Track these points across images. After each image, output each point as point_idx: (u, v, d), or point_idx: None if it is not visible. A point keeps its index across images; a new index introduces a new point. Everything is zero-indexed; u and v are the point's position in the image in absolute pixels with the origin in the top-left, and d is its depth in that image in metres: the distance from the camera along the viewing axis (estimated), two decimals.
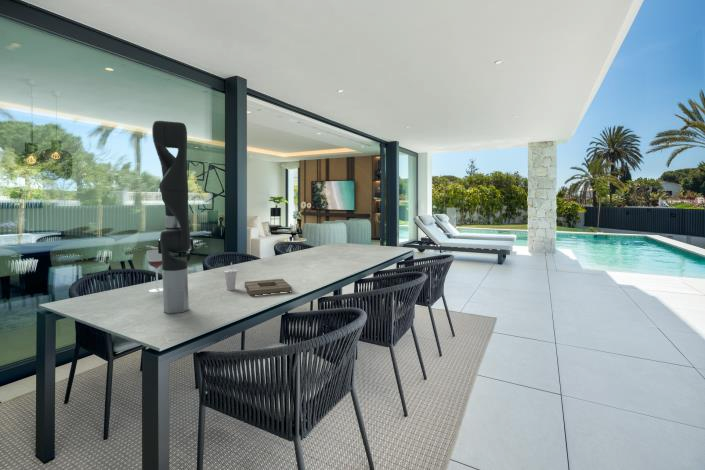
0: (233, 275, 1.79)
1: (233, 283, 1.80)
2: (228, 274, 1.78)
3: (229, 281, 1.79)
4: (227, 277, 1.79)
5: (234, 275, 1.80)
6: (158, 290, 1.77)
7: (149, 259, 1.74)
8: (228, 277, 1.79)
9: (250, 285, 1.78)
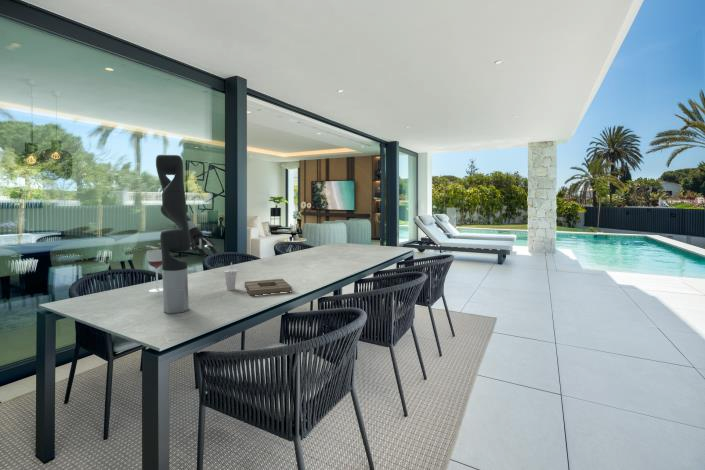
0: (233, 275, 1.79)
1: (233, 283, 1.80)
2: (228, 274, 1.78)
3: (229, 281, 1.79)
4: (227, 277, 1.79)
5: (234, 275, 1.80)
6: (158, 290, 1.77)
7: (149, 259, 1.74)
8: (228, 277, 1.79)
9: (250, 285, 1.78)
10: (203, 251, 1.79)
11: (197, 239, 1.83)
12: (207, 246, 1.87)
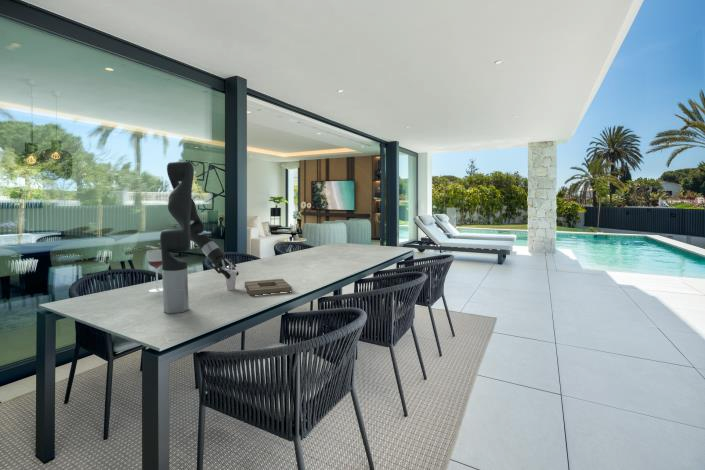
0: (233, 275, 1.79)
1: (233, 283, 1.80)
2: None
3: (229, 281, 1.79)
4: None
5: (234, 275, 1.80)
6: (158, 290, 1.77)
7: (149, 259, 1.74)
8: None
9: (250, 285, 1.78)
10: (227, 273, 1.77)
11: (219, 260, 1.80)
12: (229, 267, 1.84)
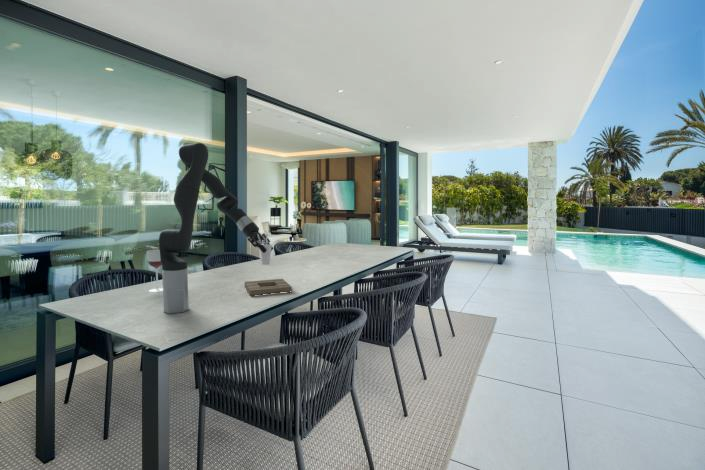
0: (268, 249, 1.78)
1: (268, 257, 1.79)
2: None
3: (264, 255, 1.78)
4: None
5: (269, 249, 1.79)
6: (158, 290, 1.77)
7: (149, 259, 1.74)
8: None
9: (250, 285, 1.78)
10: (263, 247, 1.76)
11: (255, 234, 1.79)
12: (263, 242, 1.83)
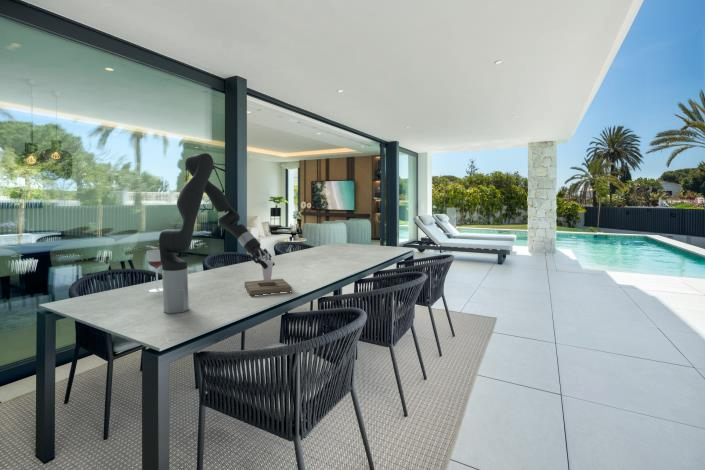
0: (270, 265, 1.79)
1: (270, 273, 1.80)
2: None
3: (266, 271, 1.78)
4: None
5: (271, 265, 1.79)
6: (158, 290, 1.77)
7: (149, 259, 1.74)
8: None
9: (250, 285, 1.78)
10: (265, 263, 1.76)
11: (256, 250, 1.79)
12: (264, 258, 1.83)
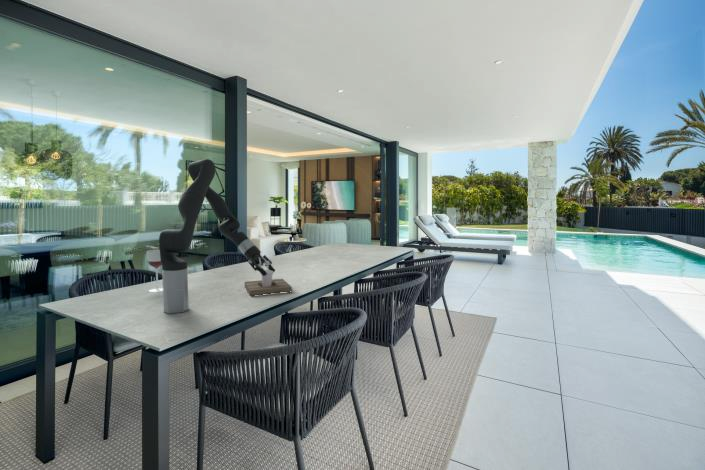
0: (270, 276, 1.79)
1: (269, 284, 1.80)
2: (265, 275, 1.78)
3: (266, 282, 1.79)
4: (264, 278, 1.78)
5: (271, 276, 1.80)
6: (158, 290, 1.77)
7: (149, 259, 1.74)
8: (265, 278, 1.78)
9: (250, 285, 1.78)
10: (264, 270, 1.76)
11: (256, 258, 1.79)
12: (265, 264, 1.84)
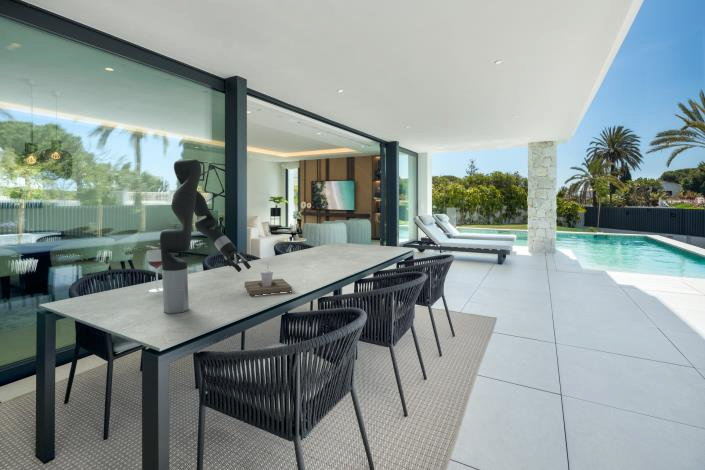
0: (270, 276, 1.79)
1: (269, 284, 1.80)
2: (265, 275, 1.78)
3: (266, 282, 1.79)
4: (264, 278, 1.78)
5: (270, 276, 1.80)
6: (158, 290, 1.77)
7: (149, 259, 1.74)
8: (265, 278, 1.78)
9: (250, 285, 1.78)
10: (238, 266, 1.79)
11: (232, 254, 1.82)
12: (241, 261, 1.87)
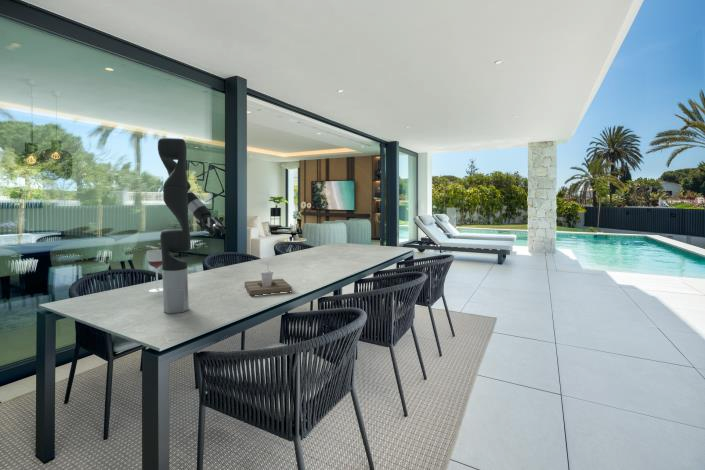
0: (270, 276, 1.79)
1: (269, 284, 1.80)
2: (265, 275, 1.78)
3: (266, 282, 1.79)
4: (264, 278, 1.78)
5: (270, 276, 1.80)
6: (158, 290, 1.77)
7: (149, 259, 1.74)
8: (265, 278, 1.78)
9: (250, 285, 1.78)
10: (212, 229, 1.74)
11: (205, 218, 1.77)
12: (215, 225, 1.82)
